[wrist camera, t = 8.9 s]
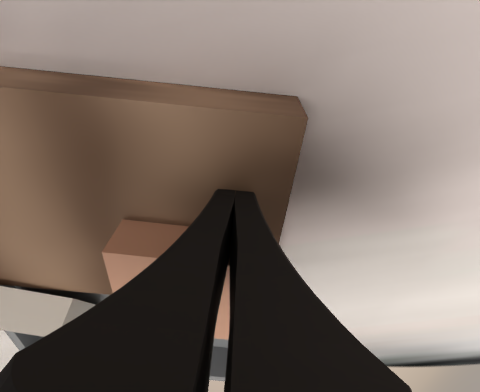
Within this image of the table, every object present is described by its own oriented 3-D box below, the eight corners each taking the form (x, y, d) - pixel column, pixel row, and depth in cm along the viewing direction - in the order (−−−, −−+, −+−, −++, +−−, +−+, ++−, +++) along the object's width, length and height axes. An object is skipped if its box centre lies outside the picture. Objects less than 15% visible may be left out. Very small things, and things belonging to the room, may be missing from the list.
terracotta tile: (136, 294, 14) (122, 329, 12) (122, 219, 11) (101, 252, 9) (234, 304, 14) (232, 340, 12) (245, 232, 11) (244, 267, 9)
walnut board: (-10, 245, 16) (-50, 280, 14) (-128, 53, 10) (-226, 64, 8) (262, 270, 16) (263, 308, 14) (297, 96, 10) (308, 117, 8)
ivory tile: (21, 292, 17) (6, 322, 17) (-34, 280, 13) (-58, 320, 12) (100, 305, 18) (89, 336, 17) (73, 298, 13) (56, 338, 13)
